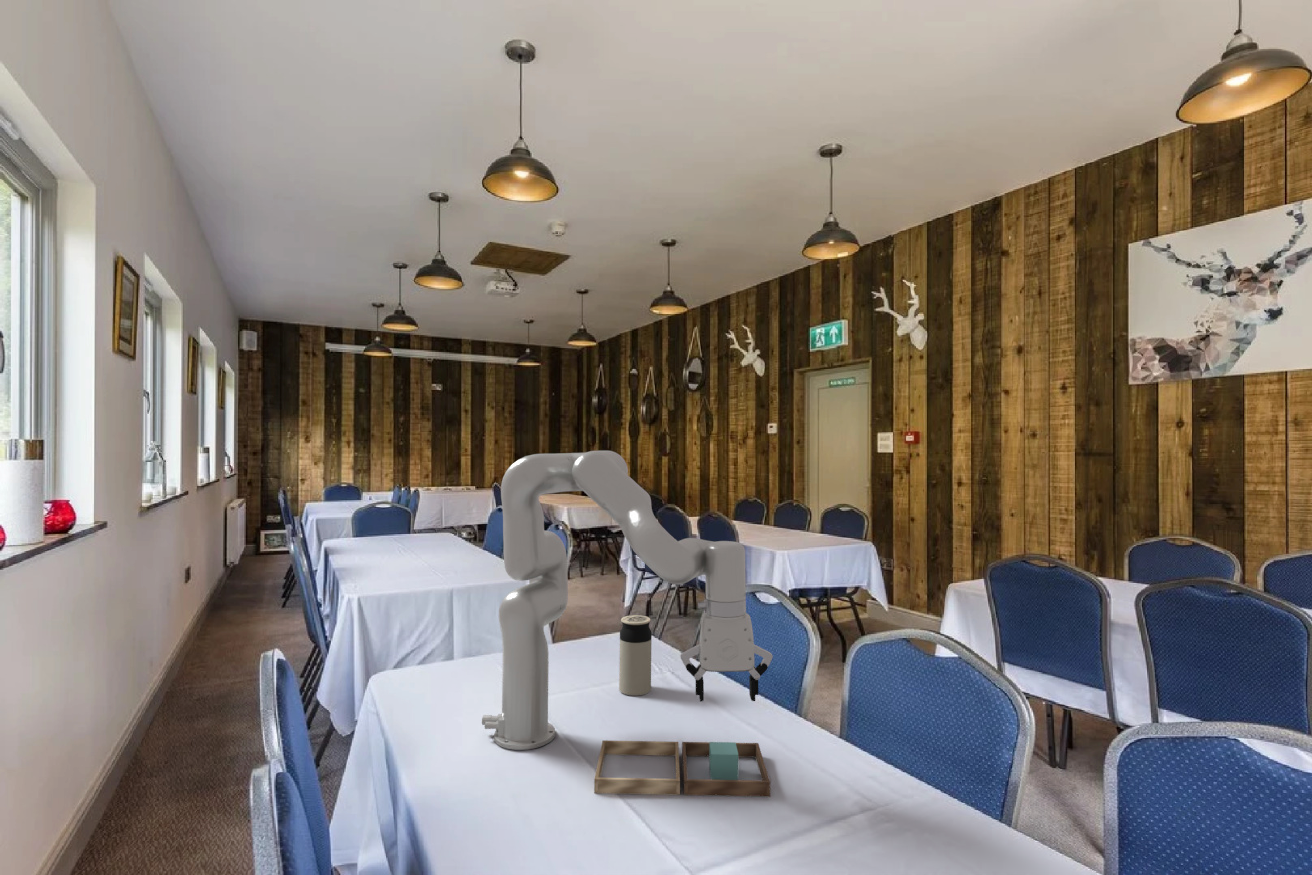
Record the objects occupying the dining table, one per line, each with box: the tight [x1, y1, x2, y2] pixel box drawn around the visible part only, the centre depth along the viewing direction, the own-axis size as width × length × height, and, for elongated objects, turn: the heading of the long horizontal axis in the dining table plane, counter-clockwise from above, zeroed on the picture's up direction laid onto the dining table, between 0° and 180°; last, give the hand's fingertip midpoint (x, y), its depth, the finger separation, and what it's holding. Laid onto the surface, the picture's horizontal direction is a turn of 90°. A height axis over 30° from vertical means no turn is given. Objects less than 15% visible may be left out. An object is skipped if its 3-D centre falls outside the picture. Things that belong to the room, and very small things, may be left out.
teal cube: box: [708, 741, 739, 780], centre depth 124 cm, size 5×5×5 cm
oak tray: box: [593, 739, 681, 796], centre depth 125 cm, size 15×15×2 cm
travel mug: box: [618, 614, 652, 697], centre depth 166 cm, size 8×8×18 cm
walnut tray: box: [681, 741, 771, 797], centre depth 124 cm, size 15×15×2 cm
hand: (726, 698), depth 124 cm, fingers open, 9 cm apart
